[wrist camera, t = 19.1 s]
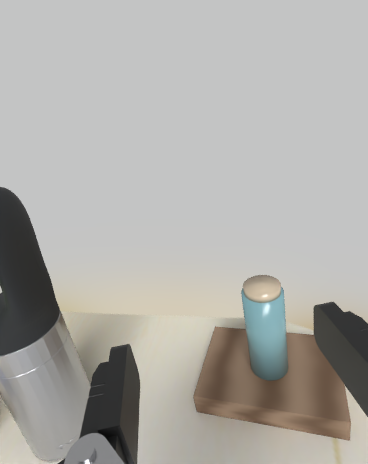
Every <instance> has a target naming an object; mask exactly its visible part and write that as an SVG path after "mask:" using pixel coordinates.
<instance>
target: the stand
mask: <svg viewBox="0 0 368 464" xmlns="http://www.w3.org/2000/svg"><path fill="white" fill-rule="evenodd" d="M286 335H287V351H288V372H287V374H286V375H285V376H284V377H282V378H281V379H278V380H273V381H270V380H264V379H261V378H259V377H258V376H256V375H255V374H254V373H253V371H252V369H251V365H250V357H249V349H248V341H247V333H246V329H235V328H223V327H215V329H214V332H213V336H212V339H211V342H210V345H209V348H208V351H207V355H206V358H205V361H204V364H203V367H202V370H201V374H200V377H199V380H198V383H197V386H196V389H195V393H194V401H195V405H196V410H197V412H201V413H206V414H211V415H217V416H222V417H227V418H233V419H238V420H243V421H249V422H254V423H259V424H265V425H270V426H275V427H281V428H286V429H291V430H297V431H302V432H307V433H313V434H318V435H324V436H329V437H334V438H340V439H345V440H350V428H351V421H350V415H349V409H348V403H347V398H346V392H345V386H344V383H343V381H342V380H341V379H340V377H339V376H338V374H337V373H336V372H335V370H334V369H333V367H332V366H331V365H330V363H329V362H328V360H327V359H326V357H325V356H324V355H323V353H322V352H321V350H320V349H319V347H318V346H317V343H316V341H315V337H314V335H307V334H295V333H286Z"/></svg>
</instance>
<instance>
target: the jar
mask: <svg viewBox="0 0 368 464" xmlns="http://www.w3.org/2000/svg"><path fill="white" fill-rule="evenodd" d="M242 301H243V309H244V317H245V325H246V333H247V341H248V349H249V357H250V365H251V369H252V371H253V373H254V374H255V375H256V376H258V377H259V378H261V379H264V380H270V381H273V380H278V379H281V378H282V377H284V376H285V375H286V374H287V372H288V351H287V335H286V320H285V304H284V290H283V288H282V287H281V285H280V282H279V280H278V279H276V278H274V277H272V276H267V275H258V276H253V277H251V278H249V279H247V280H246V281H245V282H244V284H243V289H242Z"/></svg>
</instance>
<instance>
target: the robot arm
mask: <svg viewBox="0 0 368 464" xmlns="http://www.w3.org/2000/svg"><path fill="white" fill-rule="evenodd" d="M0 286H1V288H2V293H1V294H0V395H1V397H2V399H3V401H4V402H5V404H6V406H7V408H8V409H9V411H10V413H11V415H12V416H13V418H14V420H15V422H16V423H17V425H18V427H19V429H20V430H21V432H22V434H23V436H24V438H25V439H26V441H27V443H28V445H29V446H30V448H31V450H32V452H33V453H34V454H35V456H36V457H38V458H39V459H41V460H45V461H56V460H60V459H63V458H65V457H66V458H65V459H64V460H62V461H61V462H60V463H58V464H137V451H138V425H139V398H140V379H139V372H138V369H137V365H136V362H135V359H134V356H133V353H132V349H131V346H130V345H129V344H126V345H122V346H117V347H112V348H111V350H110V356H109V362H104V363H100V364H99V366H98V368H97V369H96V371H95V372H94V374H93V377H92V382H91V385H90V383H89V380H88V378H87V375H86V373H85V370H84V368H83V365H82V363H81V360H80V358H79V355H78V353H77V351H76V348H75V346H74V343H73V341H72V338H71V336H70V333H69V331H68V329H67V326H66V324H65V321H64V319H63V316H62V314H61V311H60V309H59V306H58V304H57V301H56V298H55V294H54V291H53V286H52V283H51V279H50V276H49V274H48V271H47V268H46V266H45V263H44V260H43V257H42V254H41V251H40V248H39V245H38V242H37V239H36V235H35V232H34V229H33V226H32V224H31V221H30V218H29V216H28V214H27V211H26V209H25V207H24V206H23V204H22V203H21V201H20V200H19V198H18V197H17V196H16V195H15V194H14V193H12V192H11V191H10V190H8V189H6V188H2V187H0ZM314 337H315V341H316V343H317V346H318V347H319V349H320V350H321V352H322V353H323V355H324V356H325V357H326V359H327V360H328V362H329V363H330V365H331V366H332V367H333V369H334V370H335V372H336V373H337V374H338V376H339V377H340V379H341V380H342V381H343V383H344V384H345V386H346V387H347V389H348V390H349V391H350V393H351V394H352V396H353V397H354V398H355V400H356V401H357V403H358V404H359V405H360V407H361V408H362V410H363V411H364V413H365V414H366V415H367V417H368V324H367V323H366V322H365V321H364V320H363V319H362V318H361V317H359V316H357V315H355V314H353V313H351V312H350V311H349V312H343V311H342V310H341V309H340V308H339V307H338V306H337V305H336V304H335V303H334V302H329V303H324V304H320V305H315V306H314Z"/></svg>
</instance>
